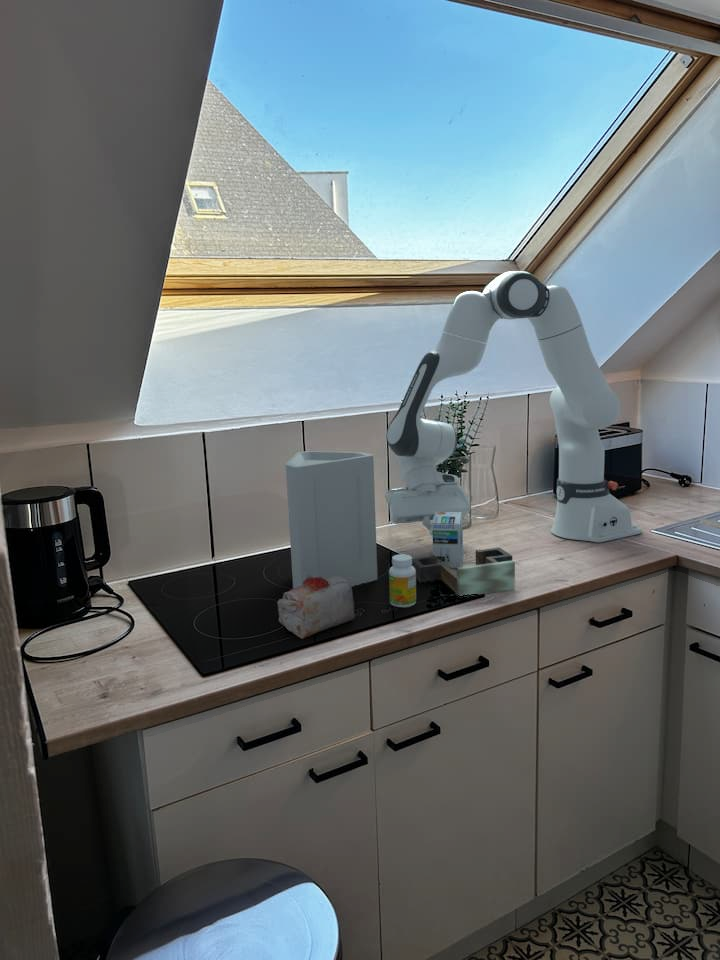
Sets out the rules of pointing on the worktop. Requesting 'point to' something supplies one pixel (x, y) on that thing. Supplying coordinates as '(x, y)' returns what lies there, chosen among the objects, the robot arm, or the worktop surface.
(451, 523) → the light bulb box
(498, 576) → the box
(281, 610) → the food item
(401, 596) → the supplement bottle
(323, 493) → the grey triangular bin
